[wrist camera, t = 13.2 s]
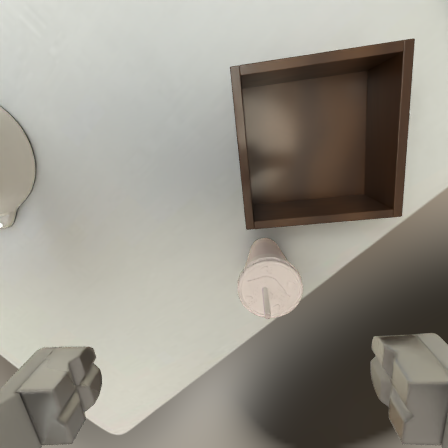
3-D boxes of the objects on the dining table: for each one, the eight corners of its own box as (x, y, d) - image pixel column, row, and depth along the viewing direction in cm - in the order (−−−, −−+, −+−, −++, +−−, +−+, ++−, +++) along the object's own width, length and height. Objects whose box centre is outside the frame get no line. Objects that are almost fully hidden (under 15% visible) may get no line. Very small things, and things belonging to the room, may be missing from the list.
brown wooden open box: (246, 210, 35) (246, 229, 28) (234, 82, 31) (230, 66, 23) (369, 199, 33) (402, 216, 26) (374, 61, 29) (415, 38, 22)
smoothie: (253, 219, 35) (255, 271, 22) (298, 240, 35) (329, 304, 22) (231, 261, 37) (222, 332, 24) (275, 280, 37) (290, 361, 24)
